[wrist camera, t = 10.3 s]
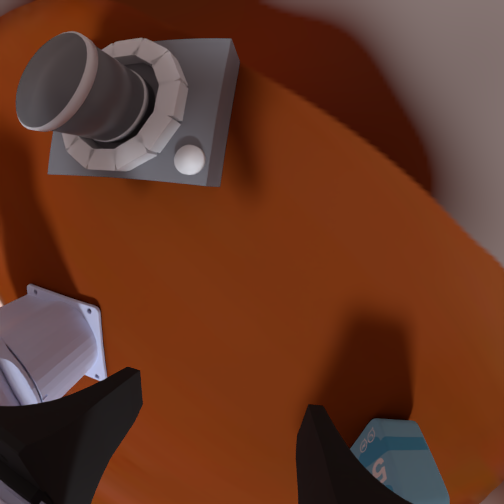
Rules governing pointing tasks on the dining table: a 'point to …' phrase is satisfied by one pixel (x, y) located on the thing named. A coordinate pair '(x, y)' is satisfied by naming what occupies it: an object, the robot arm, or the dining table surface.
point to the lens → (82, 92)
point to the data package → (401, 460)
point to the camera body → (165, 116)
